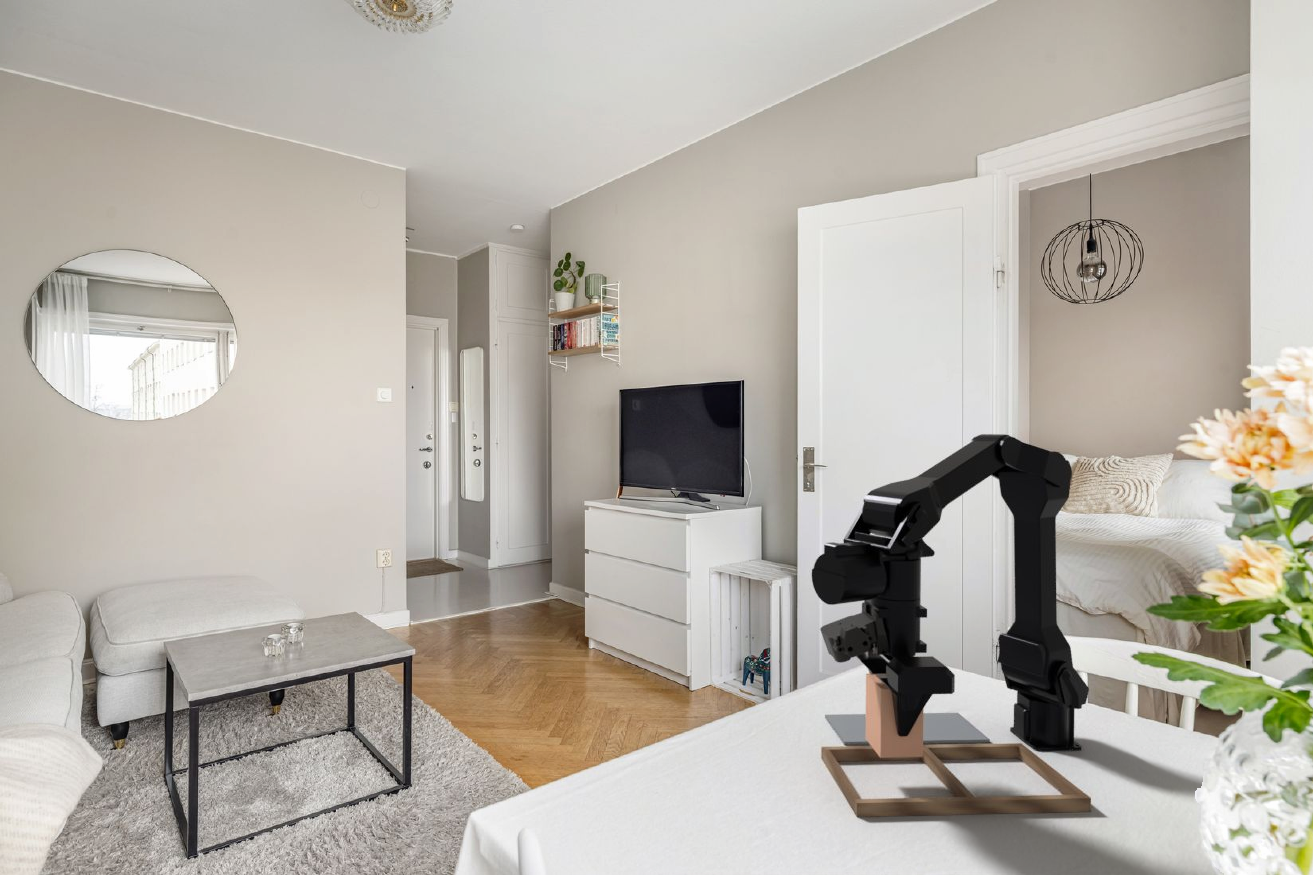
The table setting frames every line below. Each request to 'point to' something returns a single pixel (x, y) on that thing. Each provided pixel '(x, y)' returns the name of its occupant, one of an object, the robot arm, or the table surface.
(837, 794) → the table surface
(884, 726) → the peach block
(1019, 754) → the organizer
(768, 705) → the table surface
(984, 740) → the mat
